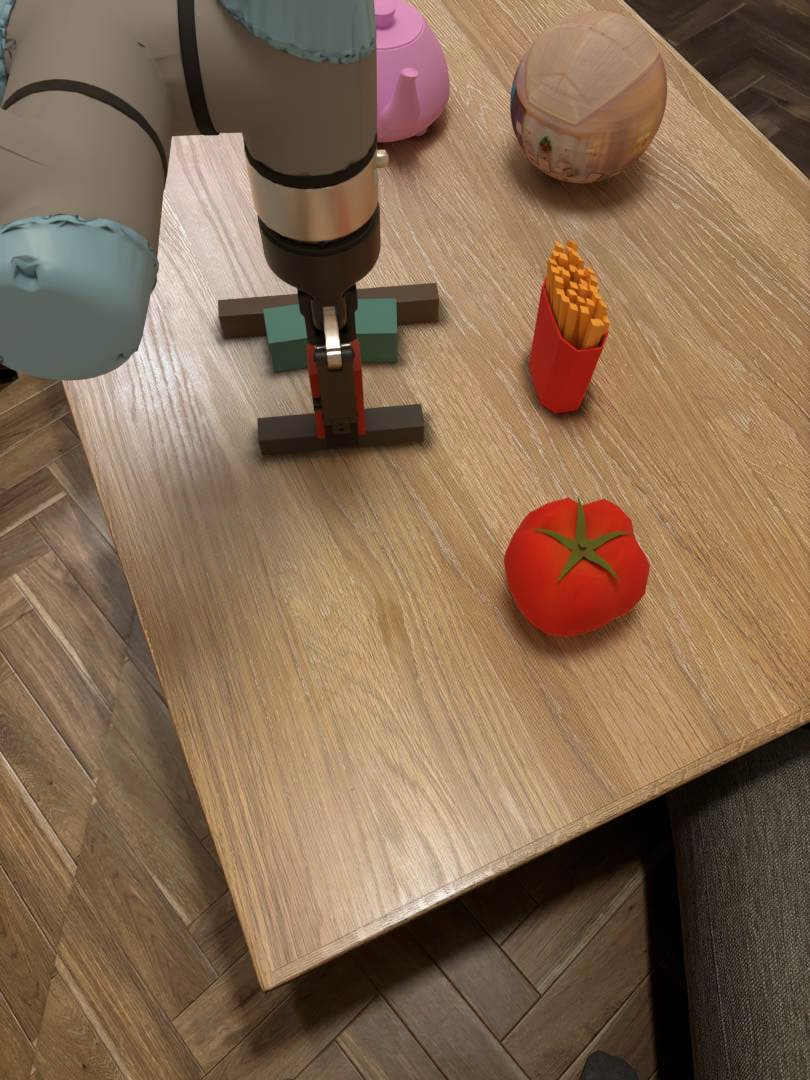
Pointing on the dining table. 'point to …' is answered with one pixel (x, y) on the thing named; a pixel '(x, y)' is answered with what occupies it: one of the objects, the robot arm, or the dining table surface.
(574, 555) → the tomato
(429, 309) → the strip
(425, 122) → the teapot
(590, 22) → the ornament
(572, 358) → the french fries
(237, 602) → the dining table surface
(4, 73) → the robot arm
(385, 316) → the cube
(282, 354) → the cube
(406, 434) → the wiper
